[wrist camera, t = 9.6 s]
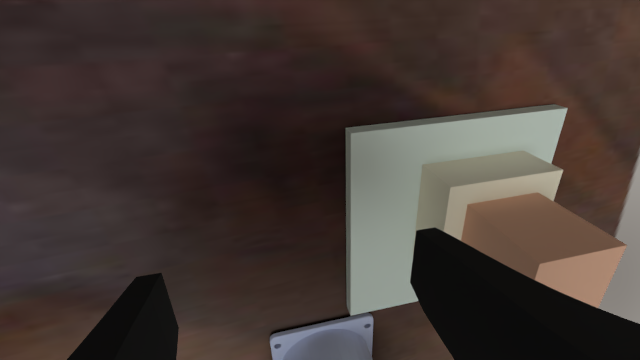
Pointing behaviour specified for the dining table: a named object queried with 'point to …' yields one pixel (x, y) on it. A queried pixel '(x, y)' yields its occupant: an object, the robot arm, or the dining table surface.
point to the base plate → (398, 187)
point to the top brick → (545, 244)
